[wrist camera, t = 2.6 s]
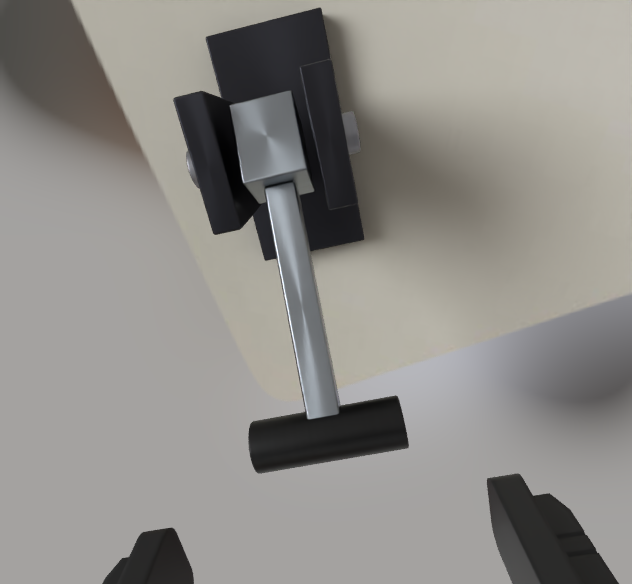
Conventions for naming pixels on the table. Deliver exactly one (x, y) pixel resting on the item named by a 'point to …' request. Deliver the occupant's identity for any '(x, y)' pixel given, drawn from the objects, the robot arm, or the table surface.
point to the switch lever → (302, 304)
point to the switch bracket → (316, 118)
